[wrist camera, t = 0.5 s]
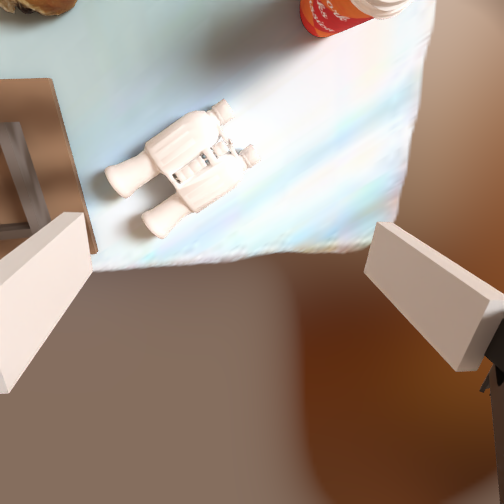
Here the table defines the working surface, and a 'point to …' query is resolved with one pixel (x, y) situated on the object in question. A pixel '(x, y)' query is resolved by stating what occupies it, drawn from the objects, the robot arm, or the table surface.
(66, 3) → the bread roll
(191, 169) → the binoculars
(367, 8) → the paper cup
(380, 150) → the table surface
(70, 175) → the holder board
